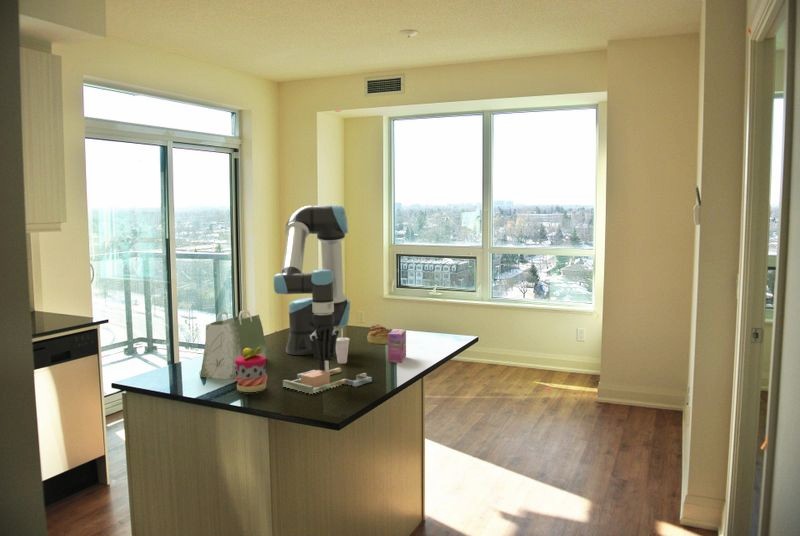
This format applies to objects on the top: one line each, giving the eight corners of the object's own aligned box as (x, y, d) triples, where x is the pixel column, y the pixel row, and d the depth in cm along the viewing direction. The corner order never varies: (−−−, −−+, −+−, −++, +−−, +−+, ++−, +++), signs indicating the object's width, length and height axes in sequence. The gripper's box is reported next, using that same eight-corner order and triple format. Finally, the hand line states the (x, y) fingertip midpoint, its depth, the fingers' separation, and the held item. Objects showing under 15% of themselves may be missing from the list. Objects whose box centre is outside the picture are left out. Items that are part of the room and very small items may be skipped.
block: (301, 387, 214) (300, 374, 214) (318, 382, 220) (317, 370, 220) (312, 390, 210) (312, 377, 210) (329, 385, 216) (329, 372, 216)
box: (401, 362, 246) (401, 333, 245) (387, 362, 247) (387, 333, 246) (406, 357, 256) (406, 329, 255) (393, 356, 258) (392, 328, 257)
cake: (229, 391, 209) (227, 348, 208) (247, 383, 219) (246, 342, 218) (255, 394, 205) (254, 350, 204) (273, 386, 215) (271, 344, 214)
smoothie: (337, 365, 244) (336, 330, 243) (331, 361, 250) (331, 327, 249) (352, 363, 247) (351, 328, 246) (346, 359, 253) (345, 326, 252)
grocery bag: (237, 358, 259) (235, 303, 257) (268, 359, 257) (266, 304, 255) (198, 378, 228) (195, 316, 226) (232, 379, 225) (230, 317, 223)
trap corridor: (329, 369, 238) (329, 363, 237) (377, 379, 222) (376, 372, 221) (273, 384, 217) (273, 378, 217) (321, 397, 201) (321, 390, 201)
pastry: (376, 337, 300) (375, 321, 299) (401, 340, 291) (401, 323, 291) (359, 342, 289) (359, 325, 288) (385, 345, 280) (385, 328, 280)
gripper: (316, 316, 209) (318, 384, 211) (343, 311, 219) (345, 376, 221) (302, 314, 214) (304, 380, 216) (329, 310, 224) (330, 373, 226)
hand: (325, 378), depth 219 cm, fingers closed
